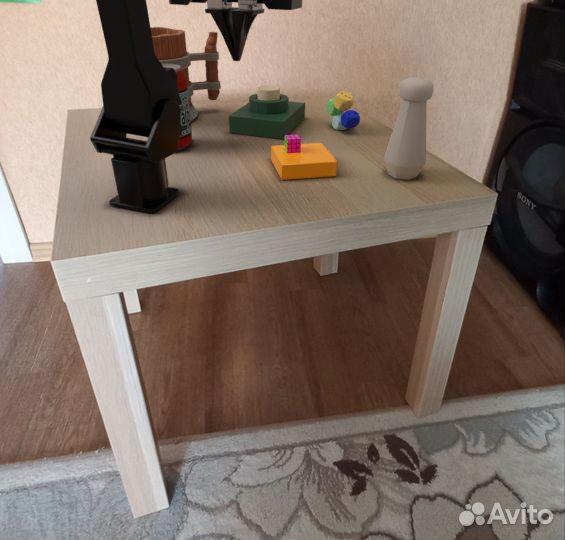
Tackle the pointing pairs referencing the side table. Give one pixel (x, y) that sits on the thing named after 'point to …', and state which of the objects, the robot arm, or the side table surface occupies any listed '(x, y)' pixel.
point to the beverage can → (183, 108)
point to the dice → (337, 108)
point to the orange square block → (302, 159)
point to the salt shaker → (409, 130)
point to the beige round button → (268, 93)
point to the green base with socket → (267, 117)
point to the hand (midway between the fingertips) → (236, 60)
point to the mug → (188, 60)
